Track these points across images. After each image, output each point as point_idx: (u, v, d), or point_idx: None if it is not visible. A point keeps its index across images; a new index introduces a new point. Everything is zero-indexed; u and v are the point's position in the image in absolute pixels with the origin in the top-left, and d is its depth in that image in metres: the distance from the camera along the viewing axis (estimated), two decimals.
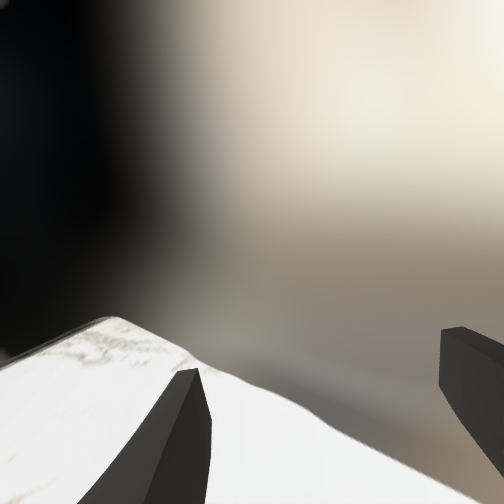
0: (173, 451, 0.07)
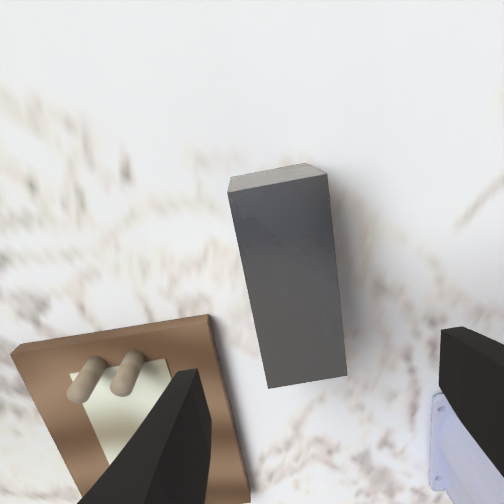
0: (173, 451, 0.07)
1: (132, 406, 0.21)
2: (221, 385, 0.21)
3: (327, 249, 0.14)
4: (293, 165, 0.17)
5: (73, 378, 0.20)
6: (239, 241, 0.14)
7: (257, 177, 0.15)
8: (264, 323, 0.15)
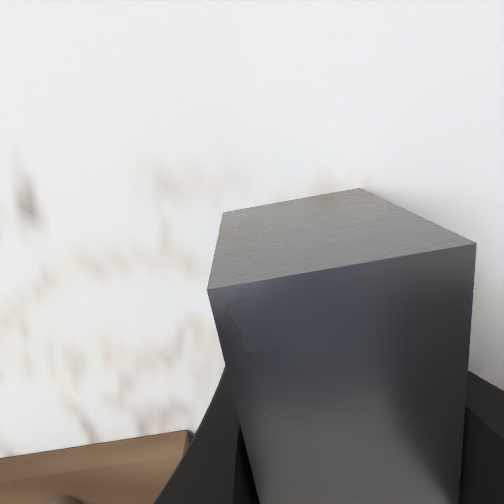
0: (242, 440, 0.07)
1: None
2: None
3: (447, 411, 0.06)
4: (341, 193, 0.09)
5: None
6: (238, 397, 0.06)
7: (277, 225, 0.07)
8: None
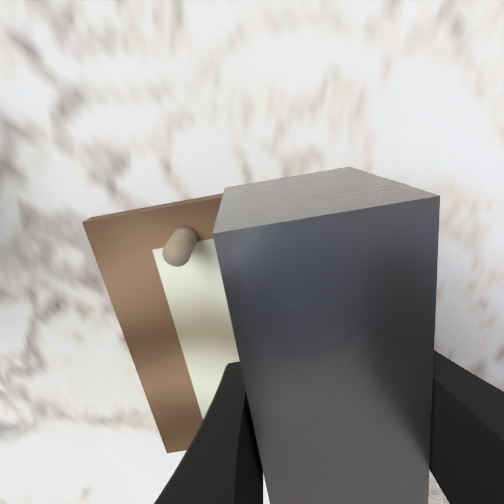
0: (243, 440, 0.07)
1: (223, 294, 0.18)
2: None
3: (419, 349, 0.07)
4: (332, 171, 0.10)
5: (156, 255, 0.17)
6: (237, 333, 0.06)
7: (273, 193, 0.08)
8: (282, 474, 0.08)
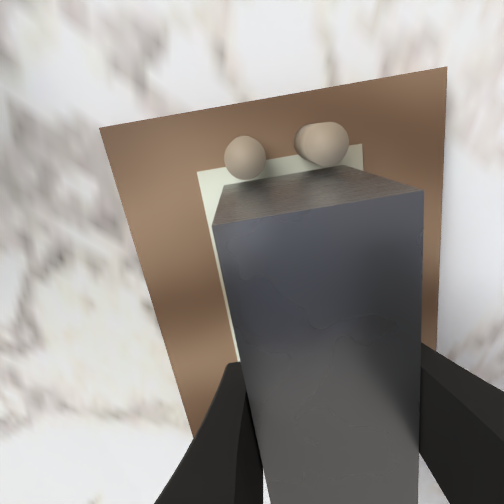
0: (243, 440, 0.07)
1: None
2: (440, 204, 0.13)
3: (407, 336, 0.07)
4: (327, 168, 0.10)
5: (202, 180, 0.12)
6: (235, 320, 0.07)
7: (270, 189, 0.09)
8: (278, 457, 0.08)
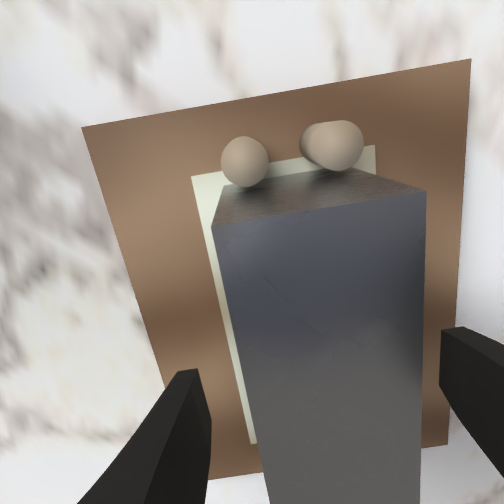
0: (173, 451, 0.07)
1: None
2: (459, 211, 0.11)
3: (409, 338, 0.07)
4: (328, 169, 0.10)
5: (196, 186, 0.11)
6: (235, 322, 0.07)
7: (270, 190, 0.09)
8: (279, 460, 0.08)
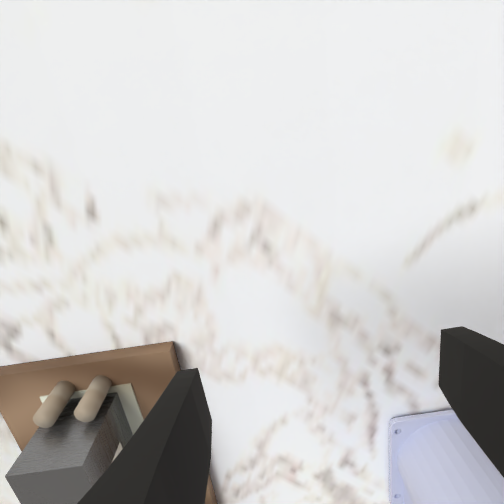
0: (173, 450, 0.07)
1: None
2: None
3: None
4: (106, 397, 0.21)
5: (43, 401, 0.21)
6: None
7: (58, 427, 0.19)
8: None
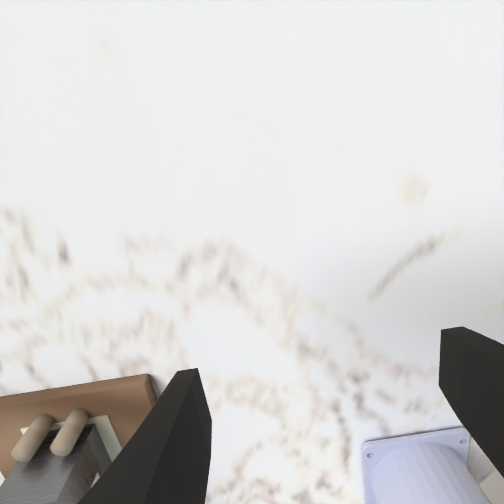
0: (173, 450, 0.07)
1: None
2: None
3: None
4: (83, 428, 0.22)
5: (24, 432, 0.22)
6: None
7: (36, 461, 0.20)
8: None
